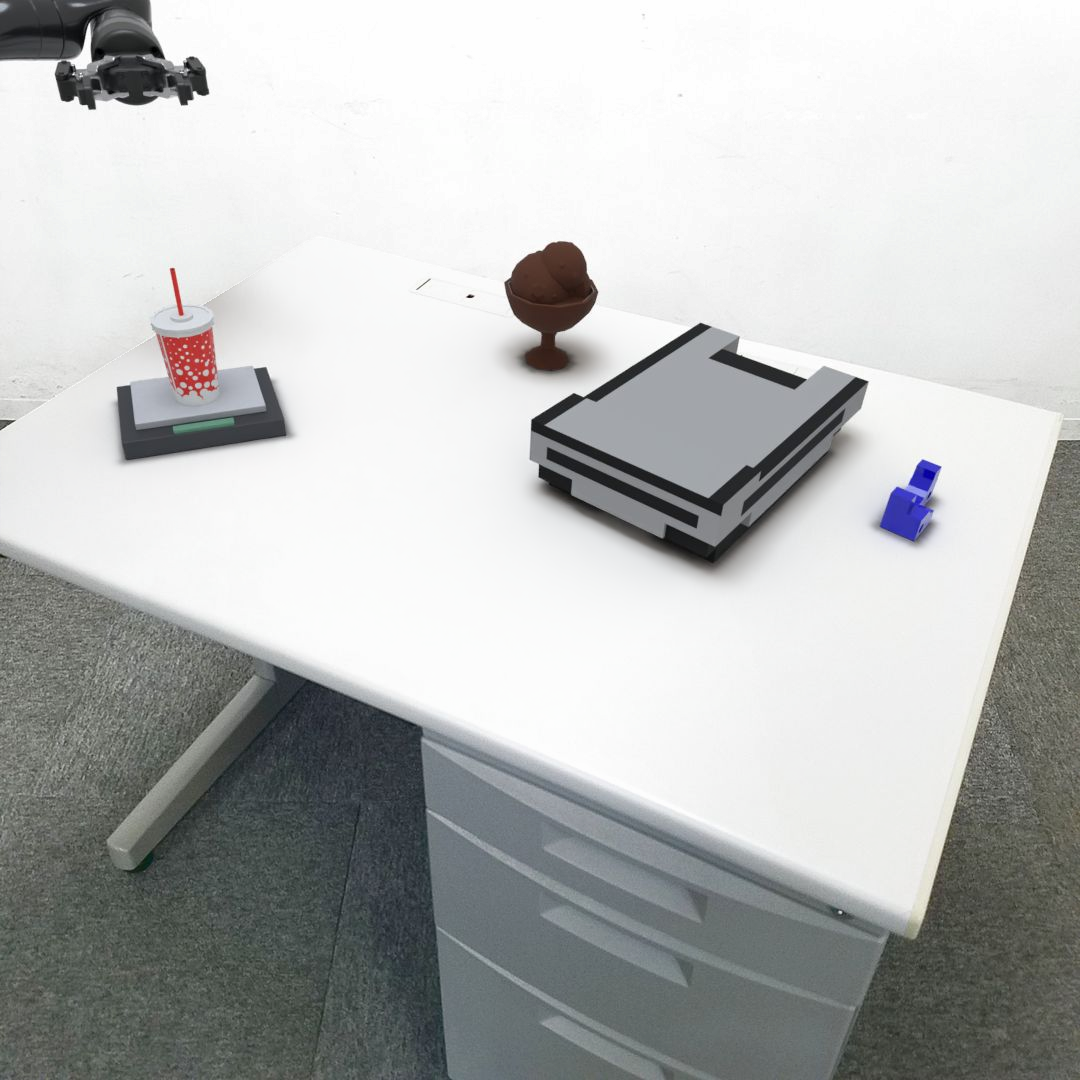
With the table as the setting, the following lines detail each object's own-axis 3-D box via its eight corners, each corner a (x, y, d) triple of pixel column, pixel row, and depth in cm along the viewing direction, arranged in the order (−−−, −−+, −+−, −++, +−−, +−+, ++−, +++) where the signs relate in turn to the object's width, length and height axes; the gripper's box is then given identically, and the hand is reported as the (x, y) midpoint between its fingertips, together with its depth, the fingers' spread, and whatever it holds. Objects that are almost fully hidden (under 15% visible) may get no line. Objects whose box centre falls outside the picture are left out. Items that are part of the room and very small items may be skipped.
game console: (852, 437, 107) (871, 371, 102) (708, 578, 87) (723, 504, 81) (692, 375, 116) (702, 312, 111) (528, 490, 96) (531, 419, 91)
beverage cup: (239, 394, 103) (218, 268, 94) (190, 416, 99) (164, 287, 90) (203, 375, 106) (179, 251, 97) (155, 395, 102) (125, 269, 93)
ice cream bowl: (580, 337, 123) (588, 221, 114) (599, 379, 115) (610, 258, 105) (498, 340, 122) (500, 223, 112) (511, 383, 113) (514, 260, 104)
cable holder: (914, 541, 92) (926, 507, 90) (879, 526, 94) (890, 493, 92) (944, 505, 97) (956, 472, 95) (911, 491, 99) (922, 459, 97)
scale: (126, 460, 97) (119, 436, 95) (120, 402, 106) (114, 379, 104) (286, 435, 102) (283, 412, 100) (268, 382, 111) (265, 360, 109)
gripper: (48, 22, 101) (46, 57, 89) (190, 19, 105) (206, 52, 93) (66, 98, 105) (67, 141, 94) (202, 92, 110) (219, 132, 98)
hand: (137, 96), depth 93 cm, fingers open, 8 cm apart
